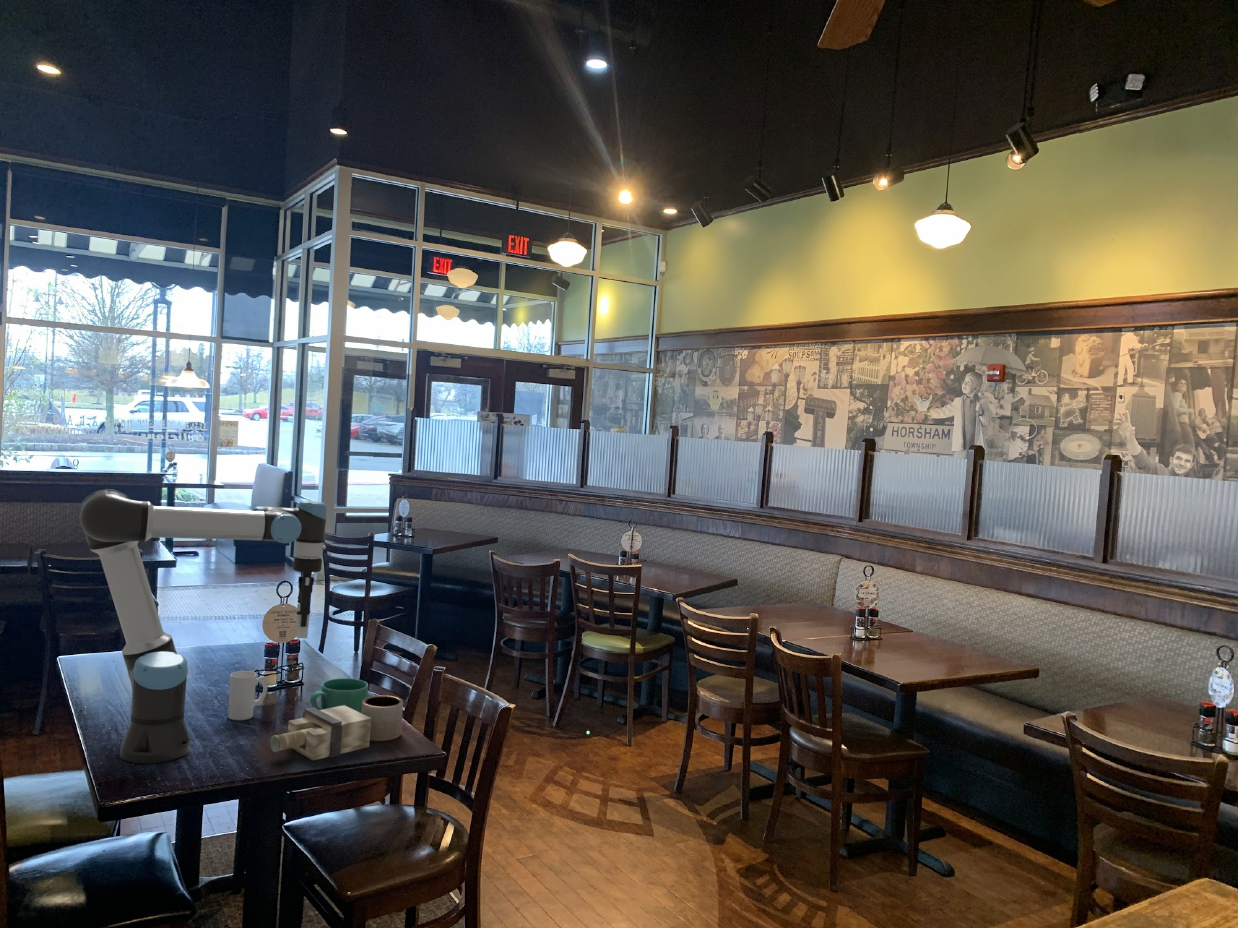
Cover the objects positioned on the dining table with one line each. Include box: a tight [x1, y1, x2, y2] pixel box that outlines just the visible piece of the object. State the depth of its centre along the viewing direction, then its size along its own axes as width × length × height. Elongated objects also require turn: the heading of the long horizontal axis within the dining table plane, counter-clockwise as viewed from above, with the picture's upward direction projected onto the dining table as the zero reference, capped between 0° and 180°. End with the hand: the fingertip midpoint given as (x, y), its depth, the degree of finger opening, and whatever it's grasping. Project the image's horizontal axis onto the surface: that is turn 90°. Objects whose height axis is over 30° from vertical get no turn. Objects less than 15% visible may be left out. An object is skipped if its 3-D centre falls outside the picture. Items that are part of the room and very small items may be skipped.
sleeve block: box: [287, 705, 371, 761], centre depth 226 cm, size 16×15×9 cm
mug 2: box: [310, 677, 369, 713], centre depth 248 cm, size 17×13×10 cm
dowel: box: [269, 726, 323, 753], centre depth 220 cm, size 14×4×4 cm, turn 139°
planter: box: [362, 694, 404, 743], centre depth 236 cm, size 11×11×10 cm
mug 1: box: [227, 670, 268, 721], centre depth 243 cm, size 10×7×12 cm, turn 127°
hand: (301, 632), depth 242 cm, fingers open, 13 cm apart
